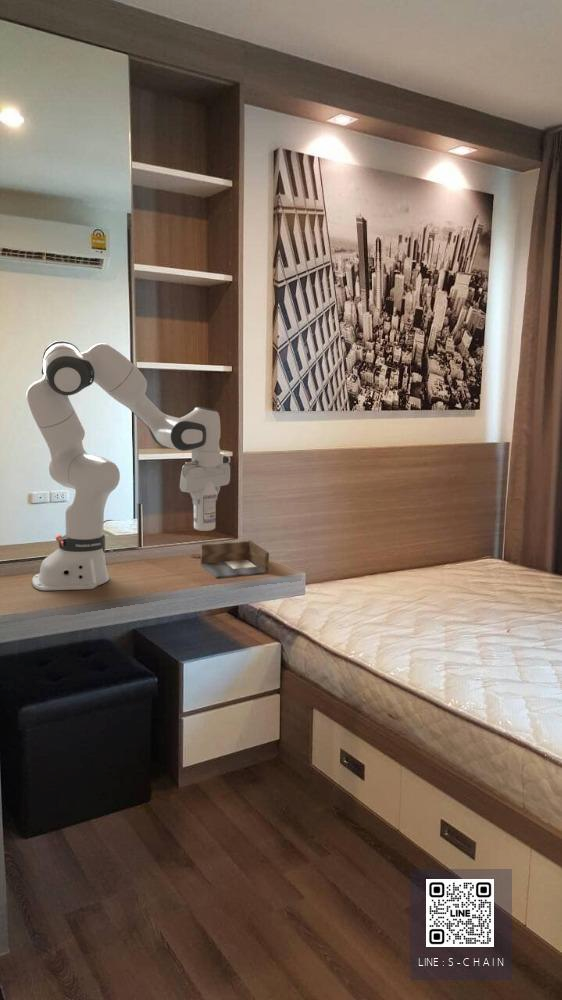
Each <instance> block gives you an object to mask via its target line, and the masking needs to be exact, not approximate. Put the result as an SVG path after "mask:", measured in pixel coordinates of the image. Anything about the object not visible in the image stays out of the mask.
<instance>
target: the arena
mask: <svg viewBox="0 0 562 1000" xmlns="http://www.w3.org/2000/svg"><path fill="white" fill-rule="evenodd" d="M269 561H270V553H269V552H268V551H266V550H265V549H263V548H262V547H260V546H259V545H258V544H256V543H255V542H253V541H252V540H243V541H242V540H241V541H227V542H213V543H201V544H200V561H199V563H200V564H199V565H200V566H202V568H204V570H206V571H207V572H208V573H210V574H211V575H212V576H213V577H214V578H215V579H225V578H235V577H237V578H238V577H246V576H247V577H248V576H255V575H256V576H257V575H266V574H267V575H268V574H269V564H270V563H269Z"/></svg>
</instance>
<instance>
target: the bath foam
mask: <svg viewBox="0 0 562 1000" xmlns="http://www.w3.org/2000/svg"><path fill="white" fill-rule="evenodd" d="M197 497H198V499H200V504H198V505H194V504H193V529H194V530H196V531H201V532H203V531H205V532H206V531H207V532H208V531H214V530H215V529H216V521H217V519H216V517H217V516H216V513H217V511H216V510H217V509H216V508H217V507H216V505H217V500H216V490H215V487H214V484H213V483H212V482H208V483H207V485H206V487H205V488H204V490H199V491H198V494H197Z"/></svg>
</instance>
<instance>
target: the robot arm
mask: <svg viewBox="0 0 562 1000" xmlns="http://www.w3.org/2000/svg"><path fill="white" fill-rule="evenodd" d="M41 375H42V376H43V377H42V378H41V379H39V380H37V381H34V382H33V383H32V384H31V385H30V386H29V387H28V389H27V391H26V400H27V403H28V406H29V410H30V412H31V415H32V417H33V420H34V421H35V424H36V425H37V427H38V429H39V431H40V434H42V437H43V439H44V440H45V442H46V444H47V447H48V450H49V453H50V457H51V460H50V462H49V467H48V471H49V475H50V477H51V479H53V481H55V482H57V483H58V484H59V485H61V486H63V487H66V488H68V489H73V490H75V494H74V499H73V501H72V504H70V505H69V506H68V507H67V508H66V510H65V514H64V515H65V535H61V534H57V535H56V536H55V540H56V542H58V548H57V549H56V550H55V551H54V552H52V553H50V554H49V555H48V556H46V557H45V558H44V559H42V562H41V565H40V568H39V573H37V574H35V575H34V576H33V577H32V578H31V579H32V580H31V583H32V586H33V588H35V589H37V590H39V591H69V590H70V591H71V590H93V589H95V588H97V587H98V586H100V585H102V584H105V583H107V582H108V581H109V580H110V575H109V574H108V570H107V565H106V558H105V557H106V556H105V552H106V536H105V534H104V523H105V522H104V521H105V520H104V515H105V514H104V513H105V508H106V504H107V500H108V498H109V497H110V494H111V493H112V492H113V491H114V490H116V489H117V487H118V485H119V483H120V479H121V473H120V470H119V467H118V466H117V464H116V463H115V462H113V461H110V460H109V459H107V458H105V457H103V456H99V455H98V456H97V455H92V454H89V453H88V452H87V451H86V450H85V449H84V445H83V440H84V439H85V434H86V433H85V429H84V427H83V425H82V423H81V421H80V418H79V417H78V414H77V413H76V411H75V409H74V406H73V405H72V403H71V400H70V399H69V396H73V395H75V394H78V393H79V392H81V391H83V390H84V389H86V388H87V387H90V386H91V385H92V384H93V383H95V384H96V385H98V386H99V387H100V388H101V389H102V390H103V391H104V392H106V393H107V394H108V395H109V396H110V397H112V398H113V399H114V400H115V401H117V402H118V403H120V404H121V405H123V406H125V407H126V408H128V410H130V411H131V412H132V413H133V414H134V415H135V416H136V417H137V418H138V419H139V420H140V421H141V422H142V423H143V424H144V425H145V426H146V428H147V429H148V430H149V433H150V436H151V438H152V440H153V441H154V442H155V443H156V444H157V445H158V446H159V447H162V448H170V449H173V450H177V451H181V452H185V451H190V450H191V461H187V462H185V464H184V465H183V466H182V468H181V473H180V481H179V489H180V491H181V492H183V493H188V494H189V495H190V497H191V499H192V505H193V506H194V505H198V504H200V499H198V497H197V494H198V491H199V490H204V488H205V487H206V485H207V483H208V482H212V483H213V484H214V487H215V490H216V501H217V500H218V495H219V493H220V491H221V487H222V486H227V485H229V484H230V482H231V465H230V463H231V457H230V455H226V454H223V453H221V447H220V439H221V418H220V413H219V412H218V411H217V410H216V409H213V408H209V407H202V406H196V407H194V409H193V410H192V411H190V412H189V413H187V414H186V415H184V416H181V417H176V416H173V415H170V414H168V413H167V414H166V413H164V412H162V411H161V410H160V409H159V408H158V407H157V406H156V405H155V404H154V402H152V400H150V399H149V398H148V396H147V395H146V392H147V388H148V383H147V378H145V376H144V374H143V373H142V372H141V371H140V370H139V368H138V367H137V366H136V365H135V364H134V363H133V362H131V360H129V359H128V358H127V357H126V356H125V355H123V353H121V352H119V351H118V350H116V349H115V348H114V347H112V346H111V345H109V344H107V343H105V342H104V343H103V342H101V343H97V344H95V345H92V346H91V347H89V349H88V350H85V351H84V352H81V351H80V350H79V348H78V347H77V346H76V345H74V344H73V343H72V342H69V341H66V340H57V341H53V342H51V343H50V344H49V345H48V346H47V347H46V349H45V350H44V352H43V356H42V364H41Z"/></svg>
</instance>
